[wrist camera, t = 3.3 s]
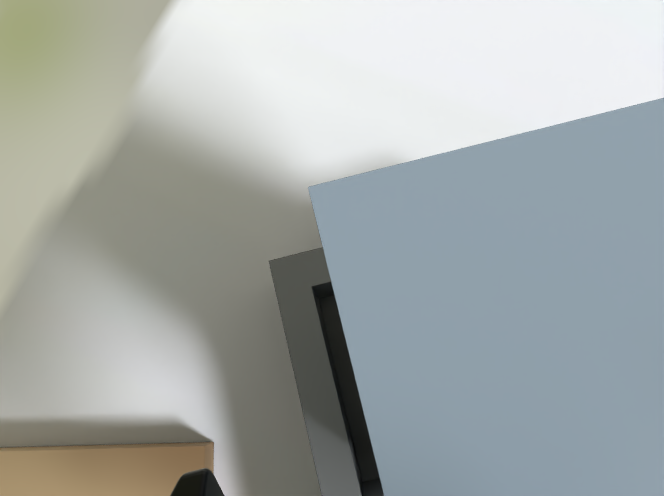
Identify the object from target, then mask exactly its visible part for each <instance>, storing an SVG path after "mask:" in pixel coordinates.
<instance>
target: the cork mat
mask: <svg viewBox="0 0 664 496" xmlns="http://www.w3.org/2000/svg"><path fill="white" fill-rule="evenodd" d="M213 460H214V442H194V443H157V444H120V445H82V446H45V447H8V448H0V496H170V495H171V493H172V491H173V489H174V487H175V485H176V483H177V481H178V480H179V478H180V477H181V476H182V475H183V474H185V473H187V472H191V471H195V470H199V469H203V468H208V469H210V470H211V471H212V473H213Z"/></svg>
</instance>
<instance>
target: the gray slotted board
mask: <svg viewBox="0 0 664 496" xmlns="http://www.w3.org/2000/svg"><path fill="white" fill-rule="evenodd" d="M269 264H270V268H271V273H272V277H273V282H274V286H275V291H276V295H277V299H278V304H279V308H280V313H281V317H282V321H283V326H284V330H285V335H286V339H287V344H288V348H289V352H290V357H291V361H292V366H293V370H294V375H295V379H296V383H297V388H298V392H299V397H300V401H301V406H302V410H303V414H304V419H305V423H306V428H307V432H308V436H309V441H310V445H311V450H312V454H313V459H314V463H315V467H316V472H317V476H318V481H319V485H320V490H321V494H322V496H384V493H383V488H382V484H381V480H380V476H379V472H378V468H377V464H376V460H375V456H374V452H373V448H372V444H371V440H370V436H369V432H368V428H367V424H366V420H365V416H364V412H363V408H362V404H361V400H360V395H359V391H358V387H357V383H356V379H355V375H354V371H353V367H352V363H351V359H350V355H349V351H348V347H347V343H346V339H345V335H344V331H343V327H342V323H341V319H340V315H339V311H338V306H337V302H336V298H335V294H334V290H333V286H332V282H331V278H330V274H329V270H328V266H327V262H326V258H325V254H324V250H323V247H322V248H318V249H314V250H310V251H306V252H302V253H298V254H294V255H290V256H286V257H282V258H278V259H274V260H270V261H269Z"/></svg>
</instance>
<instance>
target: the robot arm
mask: <svg viewBox="0 0 664 496" xmlns="http://www.w3.org/2000/svg"><path fill="white" fill-rule="evenodd" d="M170 496H224V494H223V492H222V490H221V488H220V486H219V484H218V482H217V480H216V478H215V477H214V475H213V473H212V471H211V470H210V469H208V468H203V469H199V470H195V471H191V472H187V473H185V474H183V475H182V476H181V477H180V478H179V480H178V481H177V483H176V485H175V487H174V489H173V491H172V493H171V495H170Z"/></svg>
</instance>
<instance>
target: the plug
mask: <svg viewBox="0 0 664 496" xmlns="http://www.w3.org/2000/svg"><path fill="white" fill-rule="evenodd" d="M308 189H309V193H310V197H311V201H312V205H313V209H314V213H315V218H316V222H317V226H318V230H319V234H320V238H321V242H322V246H323V250H324V254H325V258H326V262H327V266H328V270H329V274H330V278H331V282H332V286H333V290H334V294H335V298H336V302H337V306H338V311H339V315H340V319H341V323H342V327H343V331H344V335H345V339H346V343H347V347H348V351H349V355H350V359H351V363H352V367H353V371H354V375H355V379H356V383H357V387H358V391H359V395H360V400H361V404H362V408H363V412H364V416H365V420H366V424H367V428H368V432H369V436H370V440H371V444H372V448H373V452H374V456H375V460H376V464H377V468H378V472H379V476H380V480H381V484H382V488H383V493H384V496H664V98H661V99H657V100H653V101H649V102H645V103H641V104H637V105H633V106H629V107H625V108H621V109H618V110H614V111H610V112H606V113H602V114H598V115H594V116H590V117H586V118H582V119H578V120H574V121H570V122H566V123H562V124H558V125H554V126H550V127H546V128H542V129H538V130H534V131H530V132H526V133H522V134H518V135H514V136H510V137H506V138H502V139H498V140H494V141H490V142H486V143H482V144H478V145H474V146H470V147H466V148H462V149H458V150H454V151H450V152H446V153H442V154H438V155H434V156H430V157H426V158H422V159H418V160H414V161H410V162H406V163H402V164H398V165H394V166H390V167H386V168H382V169H378V170H374V171H370V172H366V173H362V174H358V175H354V176H350V177H346V178H342V179H338V180H334V181H330V182H326V183H322V184H318V185H314V186H310V187H308Z"/></svg>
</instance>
